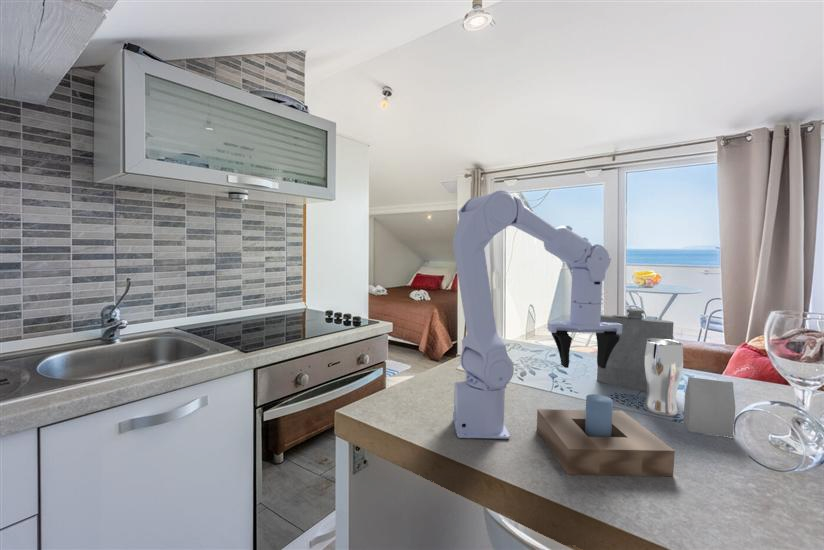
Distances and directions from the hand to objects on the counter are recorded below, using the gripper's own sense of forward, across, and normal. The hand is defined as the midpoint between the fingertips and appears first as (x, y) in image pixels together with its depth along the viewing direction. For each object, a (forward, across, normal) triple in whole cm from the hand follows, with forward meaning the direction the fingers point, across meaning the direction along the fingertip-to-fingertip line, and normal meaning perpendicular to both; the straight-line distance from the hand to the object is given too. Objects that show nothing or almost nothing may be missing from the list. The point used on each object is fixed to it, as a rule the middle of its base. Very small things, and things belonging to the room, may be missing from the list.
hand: (583, 366), depth 77 cm
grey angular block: (+10, -21, +7) cm, 24 cm away
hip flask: (+10, -20, -16) cm, 28 cm away
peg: (+10, +4, +15) cm, 18 cm away
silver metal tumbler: (+10, -18, -2) cm, 21 cm away
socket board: (+10, +4, +15) cm, 18 cm away
